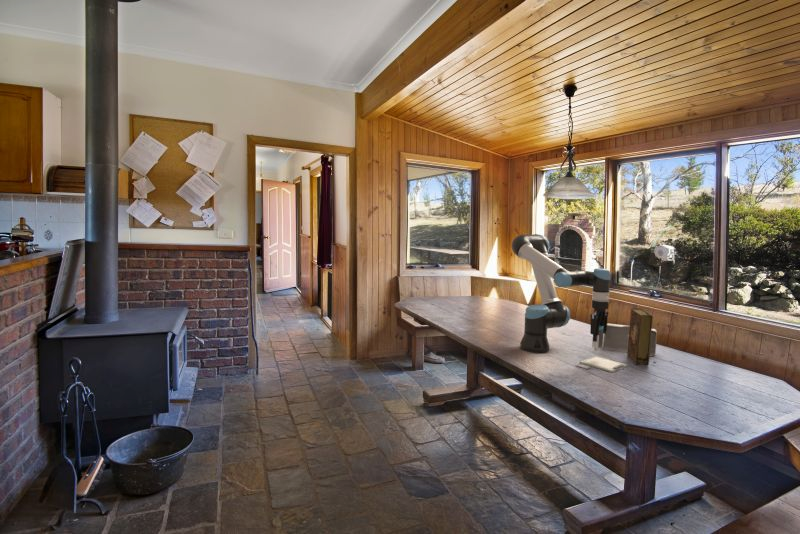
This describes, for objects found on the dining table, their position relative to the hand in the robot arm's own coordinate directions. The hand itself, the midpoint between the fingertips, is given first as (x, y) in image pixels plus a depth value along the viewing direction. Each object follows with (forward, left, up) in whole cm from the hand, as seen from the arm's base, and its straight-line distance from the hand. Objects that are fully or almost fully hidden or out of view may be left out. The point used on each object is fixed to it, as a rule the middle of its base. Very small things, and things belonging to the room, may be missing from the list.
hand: (597, 346), depth 222 cm
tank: (-1, +36, -8) cm, 37 cm away
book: (+12, +18, -8) cm, 23 cm away
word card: (+1, -13, -7) cm, 15 cm away
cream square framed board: (+5, -2, -7) cm, 9 cm away
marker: (0, 0, -2) cm, 2 cm away
